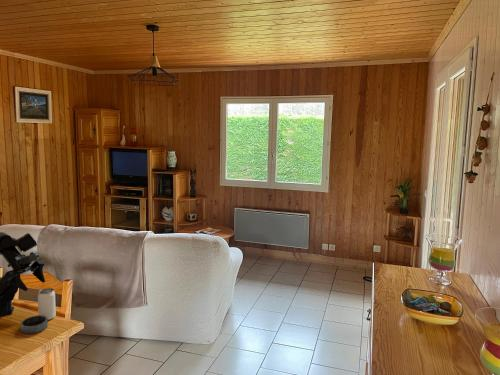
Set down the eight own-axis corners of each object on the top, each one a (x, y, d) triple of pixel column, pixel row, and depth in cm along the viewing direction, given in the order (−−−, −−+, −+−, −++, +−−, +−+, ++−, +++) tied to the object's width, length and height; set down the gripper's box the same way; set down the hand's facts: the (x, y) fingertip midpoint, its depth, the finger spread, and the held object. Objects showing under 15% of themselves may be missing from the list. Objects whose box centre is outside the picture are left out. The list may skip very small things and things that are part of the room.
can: (48, 322, 156) (47, 295, 154) (35, 319, 157) (33, 293, 156) (59, 314, 162) (58, 288, 161) (46, 312, 164) (45, 286, 162)
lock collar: (22, 324, 153) (22, 317, 153) (48, 320, 157) (48, 314, 157) (19, 335, 145) (19, 328, 145) (46, 331, 149) (46, 324, 148)
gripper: (5, 253, 149) (28, 283, 148) (41, 241, 167) (62, 268, 166) (-10, 269, 152) (13, 299, 151) (28, 255, 170) (48, 282, 169)
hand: (35, 286), depth 159 cm, fingers open, 9 cm apart
